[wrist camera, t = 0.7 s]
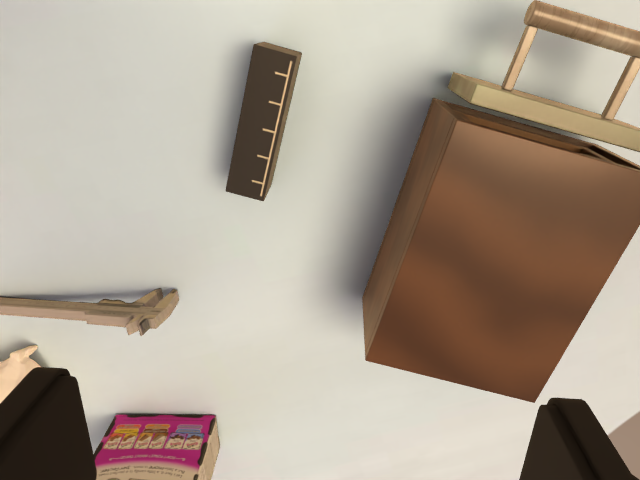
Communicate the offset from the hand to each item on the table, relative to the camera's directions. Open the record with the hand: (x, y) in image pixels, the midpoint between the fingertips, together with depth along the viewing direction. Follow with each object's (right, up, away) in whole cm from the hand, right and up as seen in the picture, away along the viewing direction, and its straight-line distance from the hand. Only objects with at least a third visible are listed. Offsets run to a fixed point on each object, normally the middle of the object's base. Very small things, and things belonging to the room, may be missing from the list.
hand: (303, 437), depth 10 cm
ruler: (-4, +14, +29) cm, 32 cm away
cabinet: (+13, +5, +32) cm, 35 cm away
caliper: (-23, -1, +37) cm, 43 cm away
